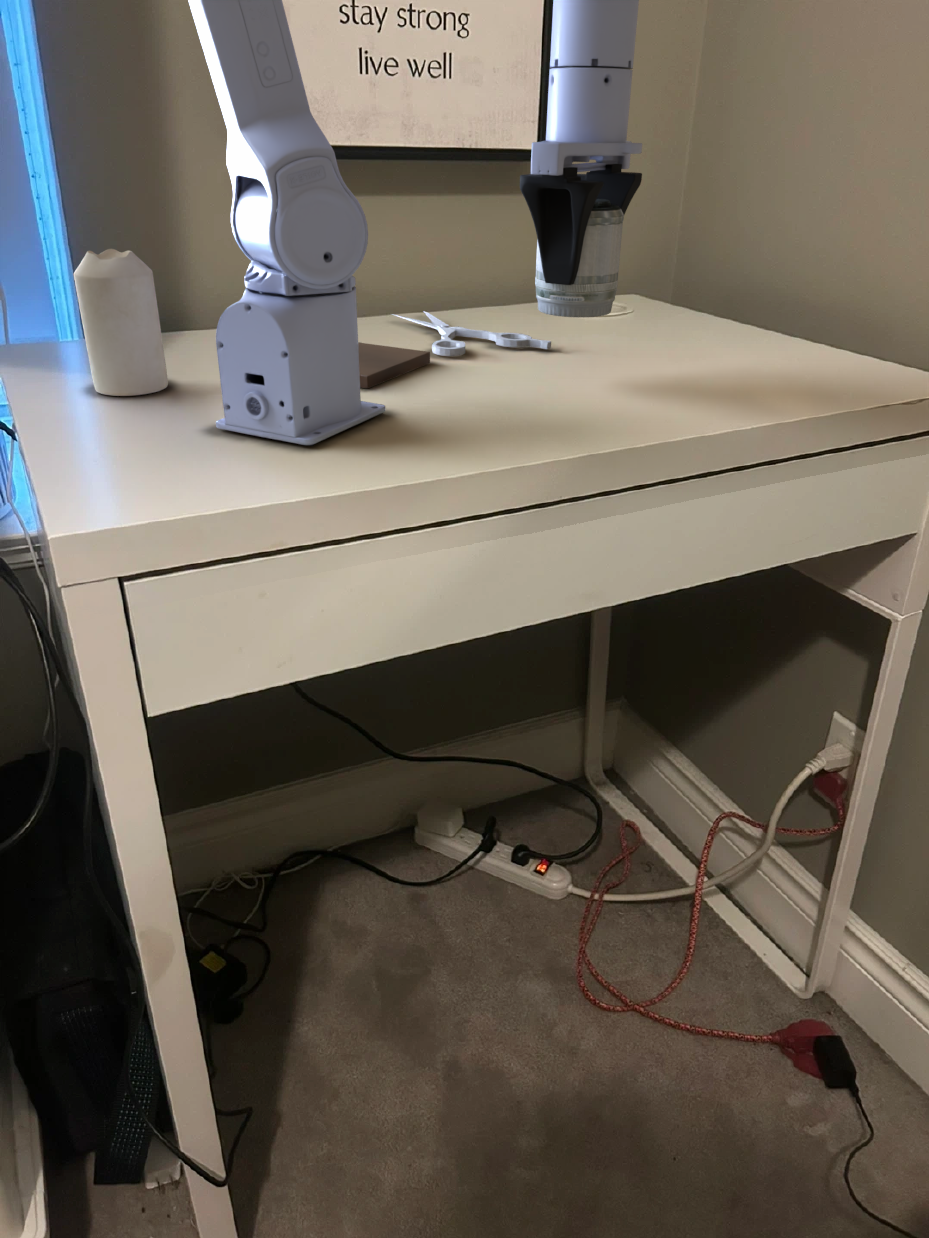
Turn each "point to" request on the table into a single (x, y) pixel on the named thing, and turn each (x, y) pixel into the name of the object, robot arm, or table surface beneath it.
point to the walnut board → (387, 363)
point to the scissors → (458, 347)
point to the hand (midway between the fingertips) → (576, 278)
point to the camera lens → (588, 269)
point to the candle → (121, 323)
